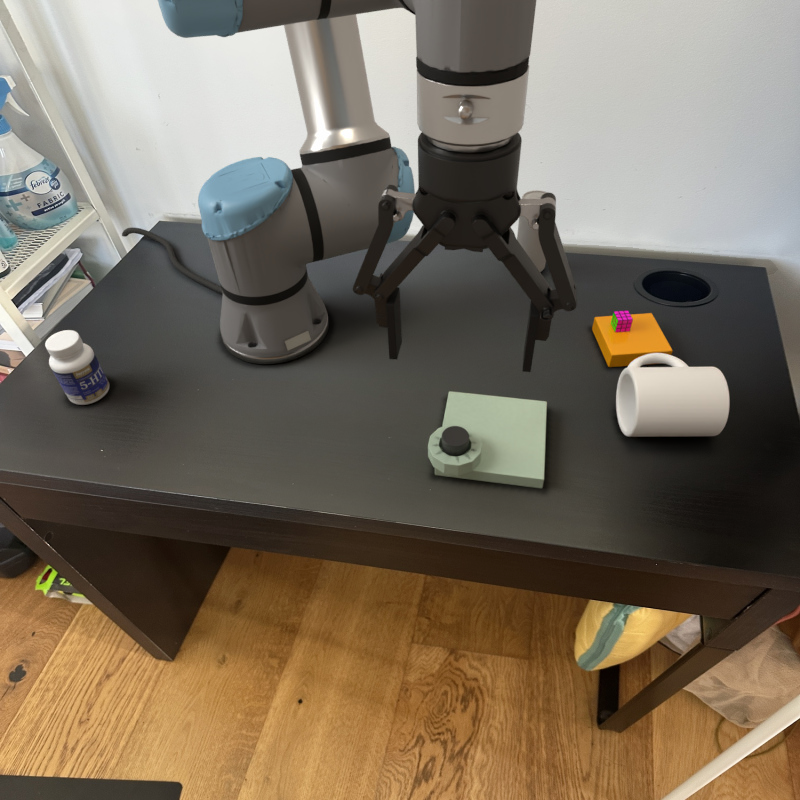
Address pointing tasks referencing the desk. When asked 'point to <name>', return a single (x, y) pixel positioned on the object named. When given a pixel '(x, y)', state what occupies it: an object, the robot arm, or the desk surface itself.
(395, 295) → the robot arm
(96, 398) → the pill bottle
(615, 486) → the desk surface
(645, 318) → the orange square tile
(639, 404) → the mug
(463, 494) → the desk surface
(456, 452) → the tare button
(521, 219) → the beverage can
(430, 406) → the desk surface
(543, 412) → the scale
